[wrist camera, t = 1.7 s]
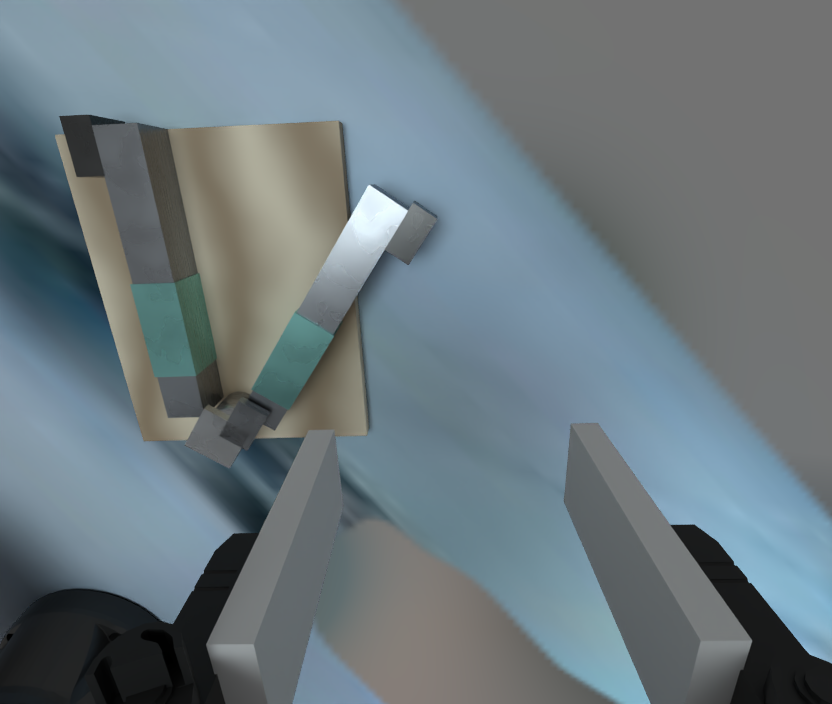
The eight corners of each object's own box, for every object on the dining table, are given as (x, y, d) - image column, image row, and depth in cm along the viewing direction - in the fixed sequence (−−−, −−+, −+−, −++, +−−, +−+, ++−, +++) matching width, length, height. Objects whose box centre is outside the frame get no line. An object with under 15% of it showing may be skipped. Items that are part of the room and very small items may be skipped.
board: (152, 432, 35) (143, 441, 34) (69, 136, 28) (54, 134, 27) (369, 427, 35) (367, 435, 34) (342, 123, 27) (338, 120, 26)
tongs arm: (211, 416, 33) (184, 445, 29) (350, 157, 27) (338, 153, 23) (285, 455, 34) (268, 488, 30) (436, 215, 28) (437, 220, 24)
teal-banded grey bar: (176, 427, 34) (151, 452, 31) (98, 123, 27) (54, 115, 24) (263, 425, 33) (247, 449, 30) (208, 117, 26) (179, 109, 23)
